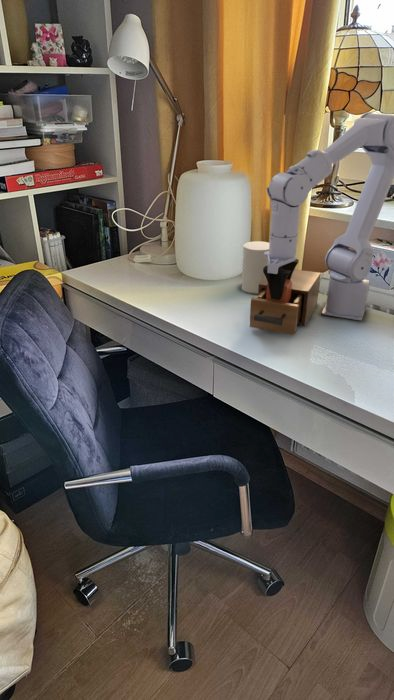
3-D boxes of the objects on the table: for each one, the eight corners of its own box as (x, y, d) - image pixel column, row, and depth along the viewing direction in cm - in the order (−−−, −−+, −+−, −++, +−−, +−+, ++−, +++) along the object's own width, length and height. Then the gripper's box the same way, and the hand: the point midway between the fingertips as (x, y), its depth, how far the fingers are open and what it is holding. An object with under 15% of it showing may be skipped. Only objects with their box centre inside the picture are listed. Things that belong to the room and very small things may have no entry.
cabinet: (304, 326, 111) (308, 291, 107) (256, 317, 115) (258, 284, 111) (316, 304, 122) (320, 272, 117) (272, 298, 126) (275, 266, 122)
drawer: (289, 343, 101) (292, 314, 98) (243, 334, 105) (244, 306, 102) (307, 313, 115) (310, 287, 111) (265, 306, 118) (267, 280, 115)
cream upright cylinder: (270, 283, 135) (273, 241, 130) (271, 294, 128) (274, 250, 123) (242, 282, 136) (243, 241, 130) (241, 293, 129) (243, 249, 123)
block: (290, 298, 108) (292, 279, 106) (285, 305, 104) (287, 286, 102) (271, 295, 110) (272, 277, 108) (265, 302, 106) (266, 283, 104)
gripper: (275, 224, 107) (271, 281, 114) (254, 240, 96) (251, 303, 102) (306, 227, 105) (300, 285, 111) (289, 244, 93) (283, 308, 99)
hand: (279, 294), depth 106 cm, fingers closed on block, 4 cm apart
